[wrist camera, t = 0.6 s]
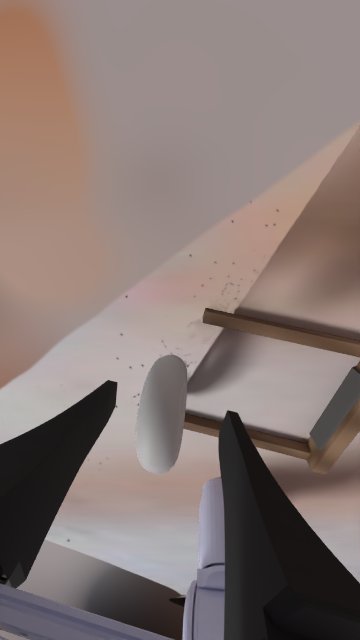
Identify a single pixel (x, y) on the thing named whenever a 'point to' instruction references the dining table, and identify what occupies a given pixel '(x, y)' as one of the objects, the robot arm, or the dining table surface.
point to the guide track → (336, 421)
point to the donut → (162, 414)
